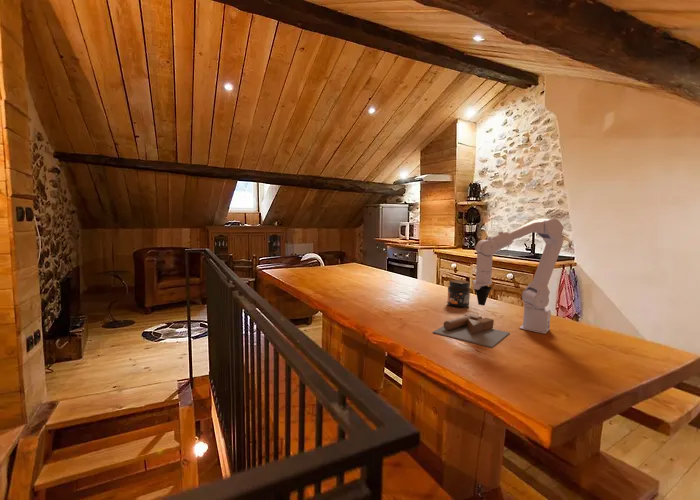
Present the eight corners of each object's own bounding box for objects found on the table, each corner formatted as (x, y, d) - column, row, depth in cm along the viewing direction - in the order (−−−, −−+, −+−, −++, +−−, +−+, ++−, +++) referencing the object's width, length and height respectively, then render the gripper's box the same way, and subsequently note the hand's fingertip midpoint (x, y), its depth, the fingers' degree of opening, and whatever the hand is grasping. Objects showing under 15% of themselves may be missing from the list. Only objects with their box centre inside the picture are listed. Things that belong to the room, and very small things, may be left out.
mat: (509, 333, 140) (509, 332, 140) (492, 347, 125) (492, 346, 125) (454, 321, 154) (454, 320, 154) (432, 332, 139) (432, 331, 139)
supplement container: (442, 303, 184) (443, 280, 182) (459, 302, 188) (460, 279, 187) (456, 309, 174) (458, 284, 173) (473, 307, 179) (475, 282, 177)
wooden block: (493, 328, 145) (466, 337, 133) (469, 321, 153) (442, 329, 142) (494, 319, 144) (467, 327, 133) (469, 312, 153) (442, 319, 141)
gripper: (480, 267, 152) (478, 299, 154) (466, 271, 141) (464, 306, 142) (497, 269, 148) (495, 302, 149) (485, 273, 136) (482, 309, 138)
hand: (481, 304), depth 145 cm, fingers closed
